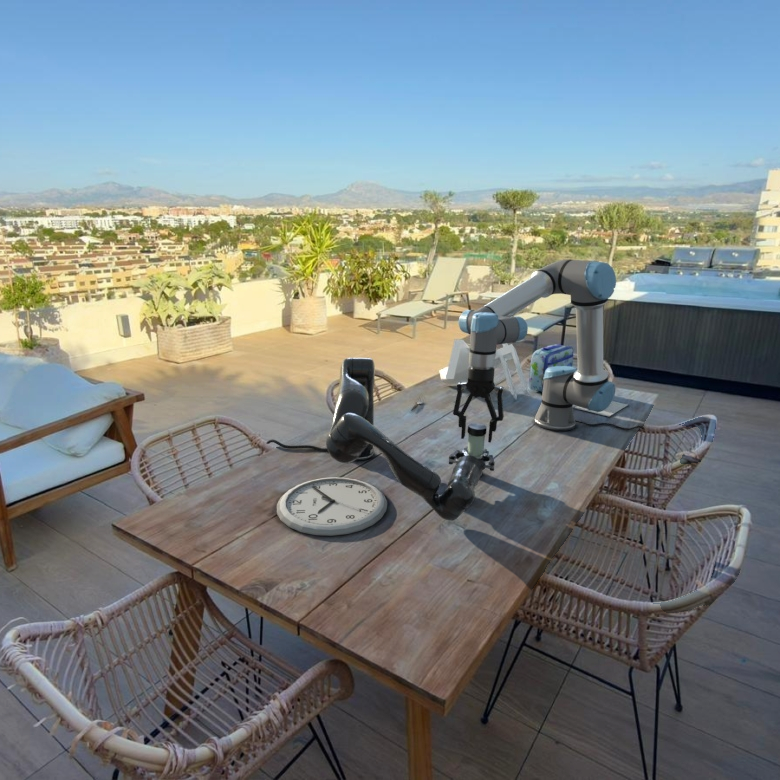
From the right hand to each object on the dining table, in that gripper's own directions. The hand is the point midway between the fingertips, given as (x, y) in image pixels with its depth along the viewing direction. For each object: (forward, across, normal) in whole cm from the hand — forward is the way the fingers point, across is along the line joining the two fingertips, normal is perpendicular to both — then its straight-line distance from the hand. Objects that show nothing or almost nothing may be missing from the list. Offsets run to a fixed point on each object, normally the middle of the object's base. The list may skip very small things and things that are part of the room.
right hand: (476, 438), depth 159 cm
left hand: (+5, 0, -3) cm, 6 cm away
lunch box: (+12, -20, -102) cm, 105 cm away
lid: (-4, 0, 0) cm, 4 cm away
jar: (+12, 0, 0) cm, 12 cm away
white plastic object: (+12, +11, -85) cm, 86 cm away
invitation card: (+12, -42, -83) cm, 94 cm away
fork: (+12, +33, -55) cm, 65 cm away
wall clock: (+12, +34, +32) cm, 48 cm away
